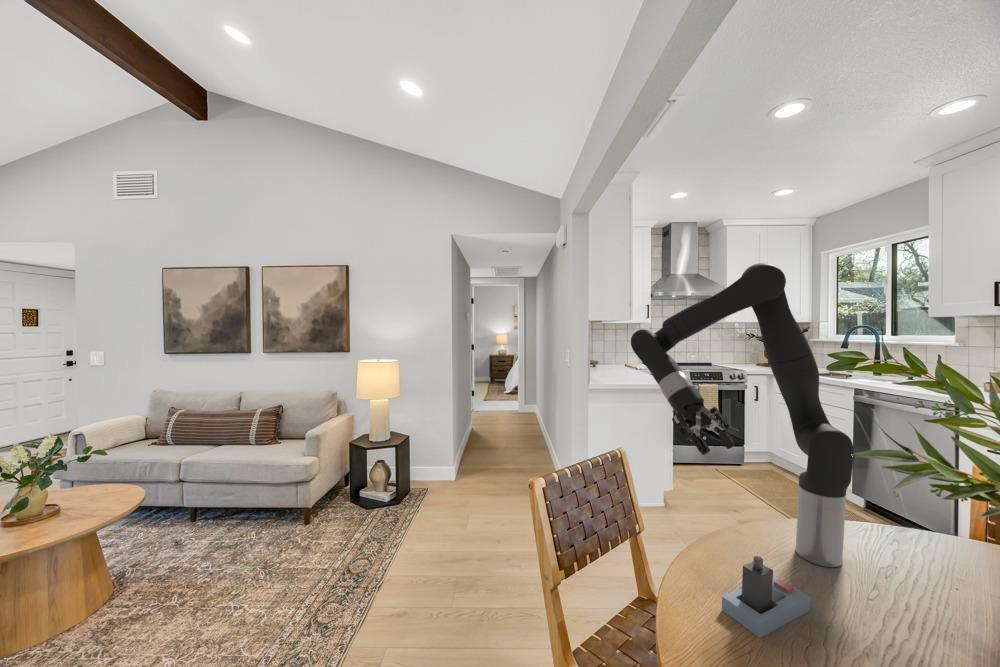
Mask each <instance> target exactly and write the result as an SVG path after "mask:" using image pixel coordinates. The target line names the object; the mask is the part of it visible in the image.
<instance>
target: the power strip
mask: <svg viewBox="0 0 1000 667" xmlns="http://www.w3.org/2000/svg"><path fill="white" fill-rule="evenodd" d="M811 598H812V597H811V596H810V595H808V594H806V593H805V592H803V591H801V590H799V589H798V588H797V587H794V586H792V585H791V584H789V583H787V582H785V581H784V580H782V579H781V578H779V577H778V576H775V575H774V574H773V587H772V609H770V610H768V611H766V612H764V613H762V614H759V613H758V612H757V611H755V610H754V609H752V608H751V607H749V606H748V605H746V604H745V603H743V602H742V586H741V587H739V588H737V589H736V590H733V591H731V592H728V593H726V594H724V595H722V596H721V611H722V612H724V613H725V614H726V615H728V616H729V617H730V618H732V619H733V620H734V621H736V622H737V623H738V624H740V625H741V626H743V627H744V628H745V629H747V630H748V631H749V632H751V633H752V634H754V635H755V637H758V638H759V639H761V638H763V637H765V636H766V635H769V634H770V633H772V632H774V631H775V630H777V629H779V628H781V627H783V626H785V625H787V624H788V623H790V622H792V621H794V620H797V618H799V617H801V616H803V615H805V614H806V613H809V612H810V611H811V600H812V599H811Z"/></svg>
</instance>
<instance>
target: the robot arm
mask: <svg viewBox="0 0 1000 667" xmlns="http://www.w3.org/2000/svg"><path fill="white" fill-rule="evenodd" d="M786 284H787V280H786V275H785V274H784V272H783V271H782V269H781V268H779V267H778V266H776V265H774V264H772V263H768V262H767V263H766V262H762V263H761V262H760V263H754V264H752V265H751V266H749V267H747V268H746V269H745V270H744V272H743V273H742V275H741V277H739V278H738V279H737V280H735V281H734V282H733V283H731V284H730V285H729V286H728V287H726V288H724V289H723V290H720V292H718V293H716V294H714V295H712V296H710V297H707V298H705V299H703V300H701V301H698V302H697V303H695V304H693V305H690V306H688V307H686V308H684V309H682V310H680V311H679V312H677V313H675V314H674V315H672V316H670V317H668V318H666V319H665V320H664V321H663V322H662V325H661V326H662V327H661V328H660V329H659V330H657V331H656V332H653V331H651V330H650V329H649V330H648V329H644V328H643V329H638V330H636V331H635V332H634V333H632V335H631V338H630V346H631V349H632V351H633V353H634V354H635V355H636V357H637V358H638V359H639V360H640V361H641V362H642V364H644V366H645V367H646V368H647V369H648V370H649V372H650V373H651V376H652V377H653V378H654V380H655V381H656V383H657V385H658V387H659V388H660V390H661V392H662V394H663V396H664V398H665V399H666V400H667V402H668V403H669V405H670V407H671V408H672V410H673V411H674V412H675V415H674V416H673V417H672V418H671V420H672V423H673V424H674V426H675V428H676V430H677V431H678V433H679V434H680V436H681V437H682V439H683V440H684V441H687V440H690V442H693V444H694V446H695V447H696V449H697V450H698V451H699V453H700V454H702V455H703V456H705V455H708V454H709V453H710V452H711V449H710V447H709V446H708V444H707V443H706V441H705V440H704V437H702V436H701V432H700V430H705V429H706V430H708V431H712V432H713V433H715V434H716V435H718V436H717V437H718V438H719V439H720V441H721V442H722V443H723V445H724V447H725V448H726V449H727V450H729V449H730V450H731V449H732V448H733V447H735V446H736V443H735V441H734V439H732V437H731V436H730V434H729V432H727V431H728V429H730V427H731V424H730V423H729V422H728V420H726V418H725V417H724V416H723V414H722V413H721V411H720V410H719V409H718V408H717V407H716V406H713V407H712V408H710V409H708V408H707V407H706V406H705V404H704V403H705V399H704V398H703V396H702V395H701V393H700V392H699V391H698V389H697V388H696V387H695V385H694V383H693V381H691V379H690V378H689V377H688V375H686V373H685V372H684V371H683V370H682V368H681V367H680V366H679V364H678V362H676V360H675V359H674V358H673V357H671V356H670V355H669V354H668V353H667V352H669V351H670V350H671V349H672V348H674V347H676V345H678V344H679V343H680V342H682V341H684V340H686V339H688V338H690V337H692V336H694V335H695V334H698V333H700V332H701V331H704V330H706V329H707V328H709V327H710V326H712V325H714V324H715V323H717V322H719V321H721V320H723V319H725V318H728V317H729V316H731V315H734V314H735V313H737V312H741V311H743V310H745V309H748V308H752V310H753V313H754V314H755V316H756V320H757V322H758V325H759V329H760V335H761V340H762V344H763V348H764V351H765V354H766V358H767V361H768V363H769V367H770V370H771V372H772V374H773V376H774V379H775V381H776V384H777V386H778V389H779V391H780V394H781V396H782V398H783V401H784V402H785V403H784V404H786V407H787V410H788V413H789V414H788V415H789V417H790V421H791V422H790V423H791V426H792V432H793V434H794V438H795V442H796V444H797V446H798V447H799V449H800V450H801V452H803V453H804V454H805V455H807V464H806V465H807V466H806V471H802V472H801V473H800V474H799V477H798V492H797V493H798V494H797V496H798V497H797V498H798V499H797V513H796V514H797V515H796V516H797V517H796V518H797V519H796V520H797V521H796V532H795V533H796V535H795V551H796V553H797V554H798V556H800V558H802V559H804V560H806V561H807V562H810V563H812V564H815V565H817V566H822V567H826V568H837V567H841V566H842V564H843V556H844V540H845V538H844V537H845V521H846V505H847V504H846V501H847V489H848V487H849V486H850V484H851V482H852V476H853V468H854V459H855V458H854V457H855V456H854V457H852V456H851V454H853V453H854V454H855V448H854V444H853V441H852V439H851V438H850V436H848V435H847V434H846V433H845V432H843V431H841V430H840V429H838V428H836V427H834V426H833V425H832V424H831V423H830V421H829V419H828V417H827V415H826V413H825V411H824V408H823V406H822V403H821V400H820V390H819V389H820V372H819V368H818V365H817V361H816V359H815V357H814V354H813V351H812V349H811V347H810V344H809V342H808V340H807V338H806V336H805V334H804V333H803V330H802V329H801V326H800V325H799V324H798V322H797V321H796V319H795V317H794V315H793V314H792V311H791V308H790V305H789V302H788V298H787V294H786V291H785V288H786Z"/></svg>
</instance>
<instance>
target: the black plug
mask: <svg viewBox="0 0 1000 667" xmlns="http://www.w3.org/2000/svg"><path fill="white" fill-rule="evenodd" d="M773 575H774V570H773V569H772V568H770V567H768V566H766V565H765V564H764V558H762V557H761V556H759V555H755V556H753V561H751V562H749V563H746V564H744V565H742V576H741V578H742V580H741V587H742V602H743V603H745V604H746V605H748V606H749V607H751V608H752V609H754V610H755V611H757V612H758V613H759V614H762V613H764V612H766V611H768V610H770V609H772V587H773Z"/></svg>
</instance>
